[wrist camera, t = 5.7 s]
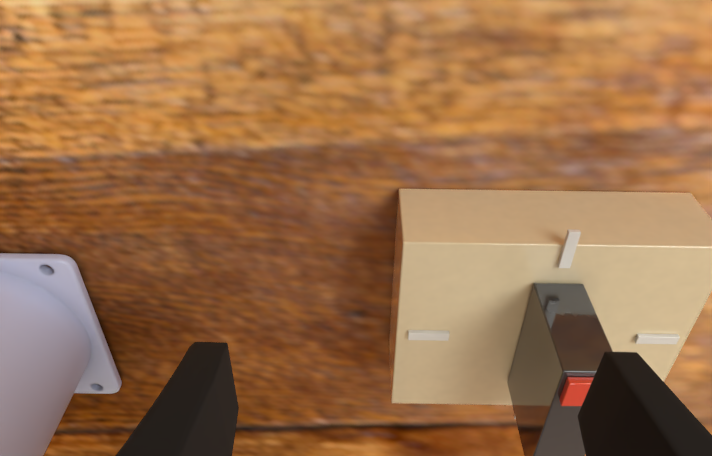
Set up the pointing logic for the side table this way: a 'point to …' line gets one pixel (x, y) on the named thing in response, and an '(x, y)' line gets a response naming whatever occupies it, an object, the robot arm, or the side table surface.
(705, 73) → the side table surface
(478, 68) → the side table surface
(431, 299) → the block
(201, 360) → the robot arm
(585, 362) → the tap handle
